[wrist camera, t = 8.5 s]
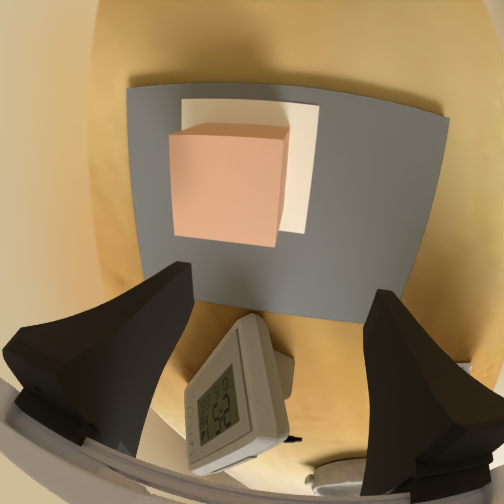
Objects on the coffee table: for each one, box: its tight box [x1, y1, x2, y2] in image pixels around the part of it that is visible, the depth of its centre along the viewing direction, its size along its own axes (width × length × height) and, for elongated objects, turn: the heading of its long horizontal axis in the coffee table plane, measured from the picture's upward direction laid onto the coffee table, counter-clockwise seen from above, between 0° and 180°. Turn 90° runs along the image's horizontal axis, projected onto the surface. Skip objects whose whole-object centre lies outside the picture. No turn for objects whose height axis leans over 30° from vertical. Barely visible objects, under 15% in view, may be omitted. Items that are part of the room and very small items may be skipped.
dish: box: [305, 458, 366, 497], centre depth 38 cm, size 14×14×5 cm
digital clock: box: [184, 313, 295, 476], centre depth 24 cm, size 16×9×11 cm, turn 140°
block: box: [169, 123, 290, 247], centre depth 15 cm, size 5×5×5 cm
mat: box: [127, 82, 450, 324], centre depth 19 cm, size 20×16×1 cm
